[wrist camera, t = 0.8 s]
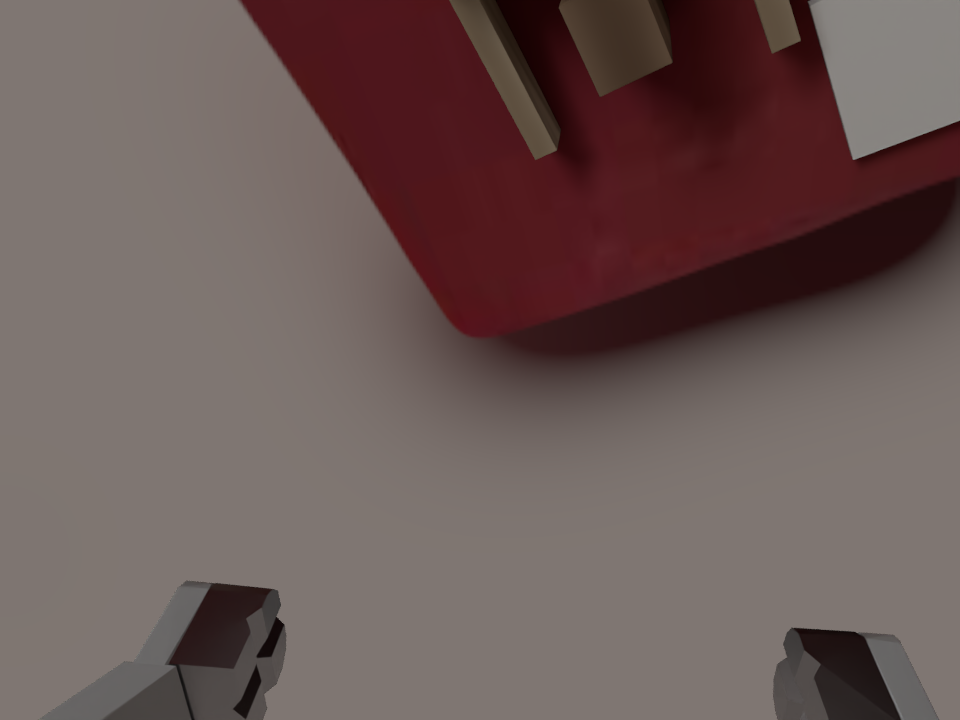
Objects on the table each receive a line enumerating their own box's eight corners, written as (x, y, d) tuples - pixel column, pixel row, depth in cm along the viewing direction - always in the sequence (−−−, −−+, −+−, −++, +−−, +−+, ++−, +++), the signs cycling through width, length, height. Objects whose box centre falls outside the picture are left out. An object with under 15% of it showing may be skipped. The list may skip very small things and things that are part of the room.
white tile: (1018, -98, 37) (1024, -95, 36) (1040, 82, 42) (1046, 88, 41) (807, 1, 41) (809, 5, 41) (850, 154, 46) (853, 160, 46)
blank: (635, -67, 41) (634, -34, 35) (669, 19, 43) (672, 62, 38) (569, -30, 42) (558, 8, 37) (604, 51, 45) (599, 96, 40)
